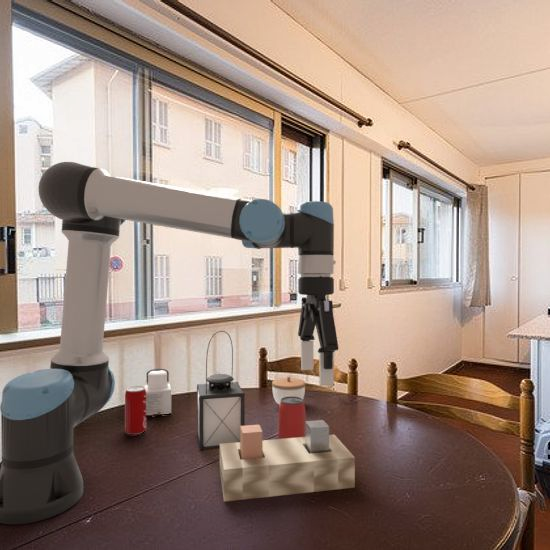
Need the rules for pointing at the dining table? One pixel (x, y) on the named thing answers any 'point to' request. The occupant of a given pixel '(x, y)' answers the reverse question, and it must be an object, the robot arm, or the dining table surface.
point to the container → (158, 392)
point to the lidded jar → (288, 388)
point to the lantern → (219, 410)
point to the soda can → (135, 410)
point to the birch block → (285, 469)
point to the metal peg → (316, 436)
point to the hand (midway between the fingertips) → (316, 376)
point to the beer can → (291, 417)
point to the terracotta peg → (251, 442)
